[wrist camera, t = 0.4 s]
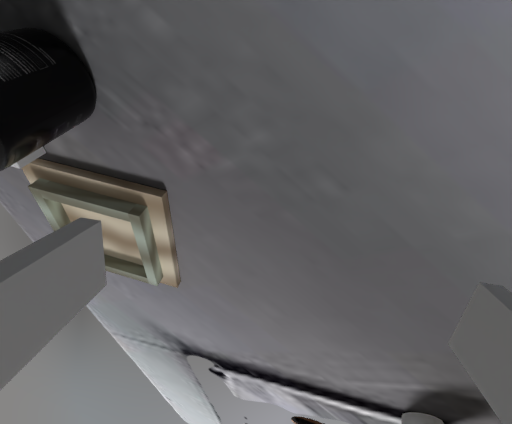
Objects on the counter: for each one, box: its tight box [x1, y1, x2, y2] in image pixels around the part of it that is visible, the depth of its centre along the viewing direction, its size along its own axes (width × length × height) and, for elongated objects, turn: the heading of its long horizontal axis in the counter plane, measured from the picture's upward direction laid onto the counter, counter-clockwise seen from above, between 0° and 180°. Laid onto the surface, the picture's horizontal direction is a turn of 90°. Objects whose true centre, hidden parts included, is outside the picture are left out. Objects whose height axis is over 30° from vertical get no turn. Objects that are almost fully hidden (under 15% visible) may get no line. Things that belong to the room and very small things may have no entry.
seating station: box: [22, 158, 181, 287], centre depth 32 cm, size 16×16×2 cm
